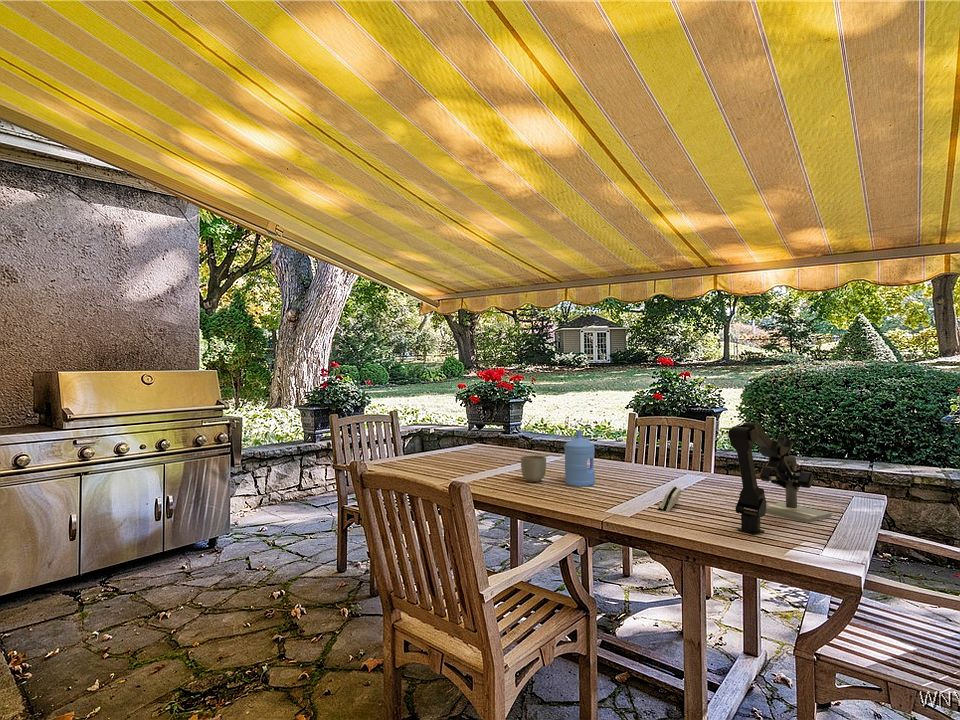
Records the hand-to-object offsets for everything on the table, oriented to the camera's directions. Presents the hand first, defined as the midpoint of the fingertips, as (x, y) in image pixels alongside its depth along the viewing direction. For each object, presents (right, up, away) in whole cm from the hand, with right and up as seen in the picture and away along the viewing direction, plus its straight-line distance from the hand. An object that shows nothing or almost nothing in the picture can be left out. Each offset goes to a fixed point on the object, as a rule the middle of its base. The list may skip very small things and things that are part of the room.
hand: (792, 489), depth 213 cm
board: (0, -10, 0) cm, 10 cm away
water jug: (-76, -12, +60) cm, 98 cm away
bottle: (-1, -7, -1) cm, 7 cm away
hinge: (-46, -11, +13) cm, 49 cm away
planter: (-100, -13, +67) cm, 121 cm away
